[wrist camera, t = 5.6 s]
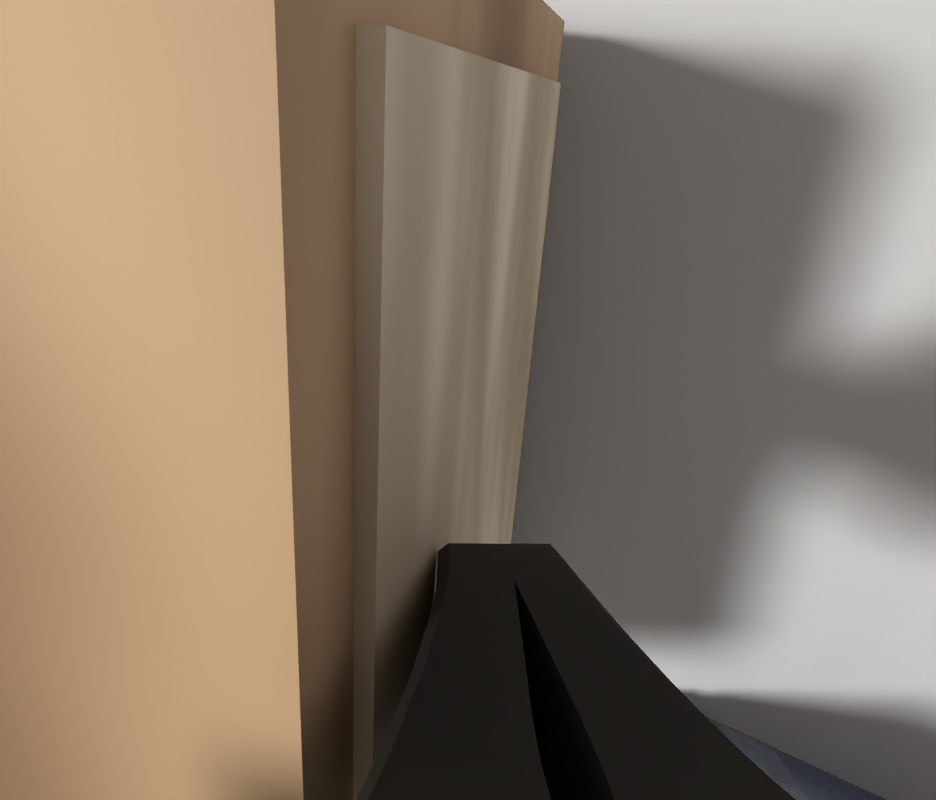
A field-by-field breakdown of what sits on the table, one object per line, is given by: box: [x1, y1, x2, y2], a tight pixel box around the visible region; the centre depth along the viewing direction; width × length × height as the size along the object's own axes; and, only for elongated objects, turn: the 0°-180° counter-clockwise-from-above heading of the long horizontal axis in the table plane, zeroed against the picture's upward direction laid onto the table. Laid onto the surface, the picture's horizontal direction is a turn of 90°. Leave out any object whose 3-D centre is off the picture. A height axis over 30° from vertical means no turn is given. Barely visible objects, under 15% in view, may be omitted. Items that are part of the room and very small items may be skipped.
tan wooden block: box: [0, 0, 564, 800], centre depth 11 cm, size 4×14×10 cm, turn 176°
